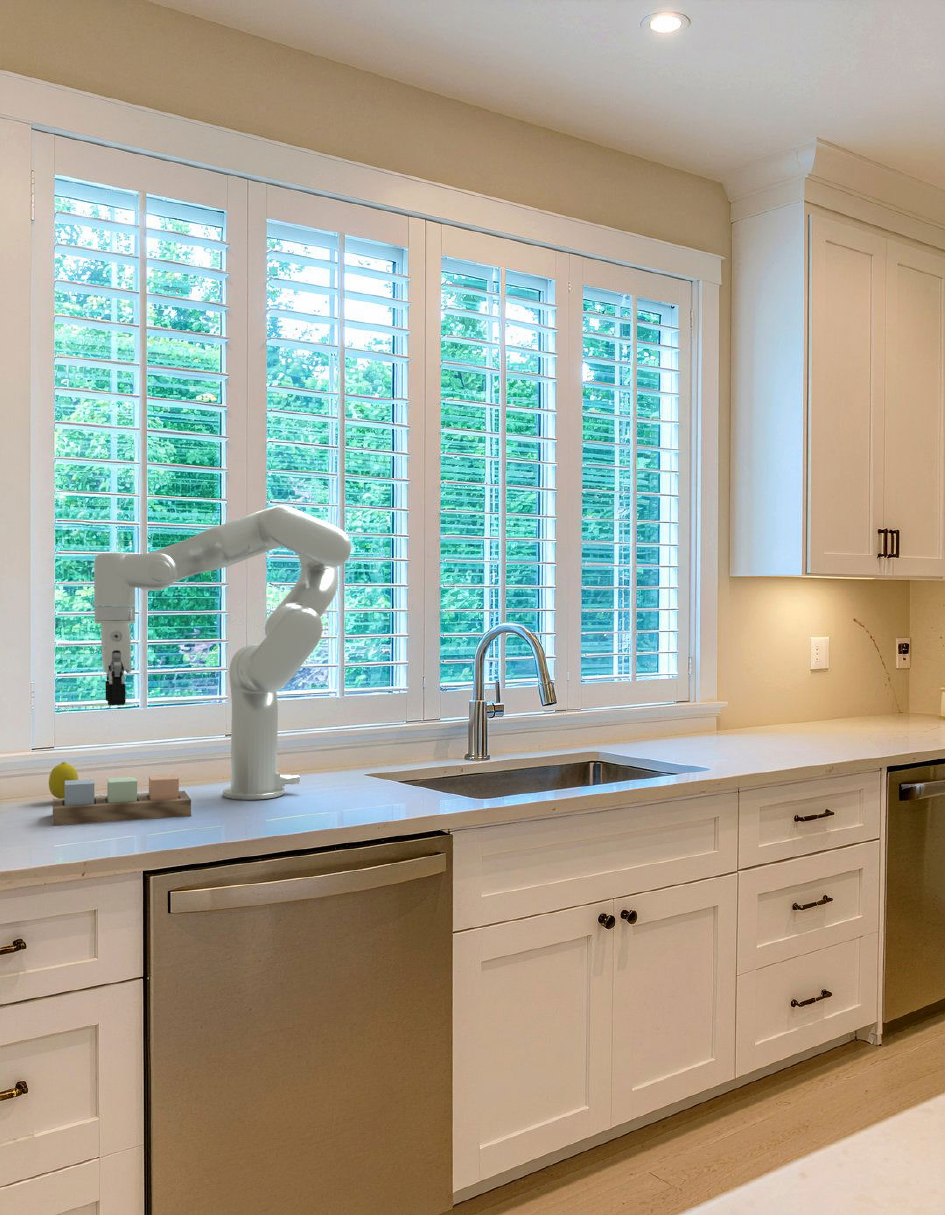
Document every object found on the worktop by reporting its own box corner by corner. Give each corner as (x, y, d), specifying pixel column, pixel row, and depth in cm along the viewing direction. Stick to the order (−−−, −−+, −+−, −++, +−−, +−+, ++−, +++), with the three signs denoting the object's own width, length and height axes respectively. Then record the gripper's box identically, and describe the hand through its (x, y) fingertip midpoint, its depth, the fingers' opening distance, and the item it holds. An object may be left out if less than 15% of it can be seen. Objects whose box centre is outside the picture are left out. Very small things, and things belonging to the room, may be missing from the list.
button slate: (93, 805, 186) (93, 779, 186) (94, 810, 181) (94, 783, 181) (64, 807, 184) (64, 780, 184) (64, 812, 179) (65, 785, 179)
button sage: (134, 803, 189) (135, 776, 189) (137, 807, 184) (137, 781, 184) (107, 804, 187) (107, 778, 187) (108, 809, 182) (108, 782, 182)
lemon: (69, 798, 202) (69, 759, 202) (83, 801, 199) (83, 761, 199) (43, 801, 198) (43, 762, 198) (57, 805, 194) (57, 764, 194)
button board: (184, 806, 195) (184, 790, 195) (190, 815, 186) (191, 799, 186) (52, 814, 185) (52, 798, 185) (52, 825, 176) (53, 808, 176)
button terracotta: (175, 800, 192) (175, 774, 192) (178, 805, 187) (178, 778, 187) (148, 802, 190) (148, 776, 190) (151, 806, 185) (151, 780, 185)
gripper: (138, 616, 187) (138, 706, 187) (132, 615, 203) (132, 698, 203) (96, 616, 184) (96, 707, 184) (93, 615, 200) (93, 699, 200)
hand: (115, 702), depth 194 cm, fingers open, 9 cm apart
